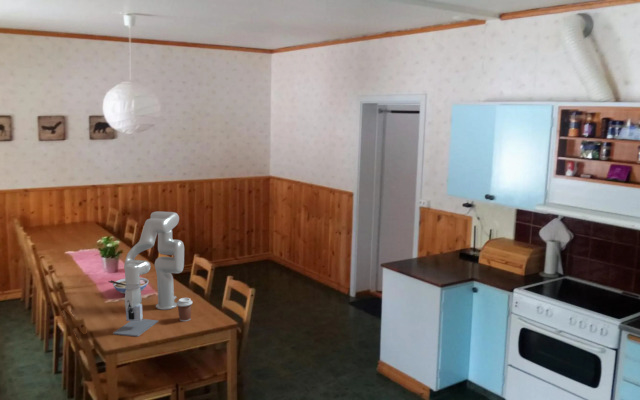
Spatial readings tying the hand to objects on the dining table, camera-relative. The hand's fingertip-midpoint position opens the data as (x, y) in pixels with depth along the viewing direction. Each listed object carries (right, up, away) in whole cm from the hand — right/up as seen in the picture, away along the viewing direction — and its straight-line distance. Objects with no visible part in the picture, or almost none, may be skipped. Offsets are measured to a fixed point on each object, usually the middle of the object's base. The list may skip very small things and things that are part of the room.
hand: (134, 317), depth 316 cm
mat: (0, -6, +2) cm, 7 cm away
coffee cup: (+25, -5, +15) cm, 29 cm away
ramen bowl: (-22, +3, +61) cm, 65 cm away
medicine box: (0, -2, 0) cm, 2 cm away
